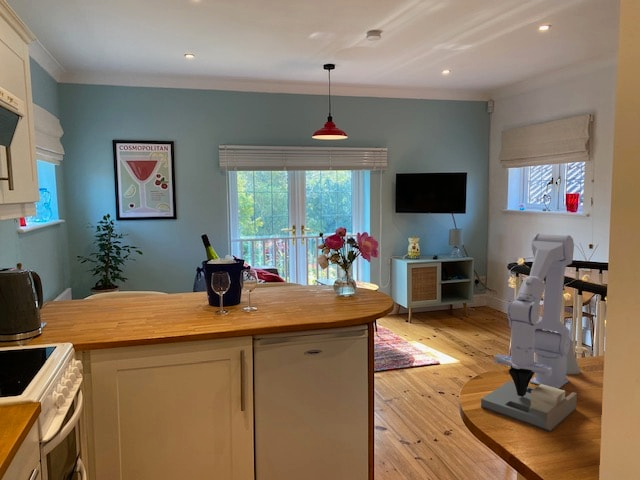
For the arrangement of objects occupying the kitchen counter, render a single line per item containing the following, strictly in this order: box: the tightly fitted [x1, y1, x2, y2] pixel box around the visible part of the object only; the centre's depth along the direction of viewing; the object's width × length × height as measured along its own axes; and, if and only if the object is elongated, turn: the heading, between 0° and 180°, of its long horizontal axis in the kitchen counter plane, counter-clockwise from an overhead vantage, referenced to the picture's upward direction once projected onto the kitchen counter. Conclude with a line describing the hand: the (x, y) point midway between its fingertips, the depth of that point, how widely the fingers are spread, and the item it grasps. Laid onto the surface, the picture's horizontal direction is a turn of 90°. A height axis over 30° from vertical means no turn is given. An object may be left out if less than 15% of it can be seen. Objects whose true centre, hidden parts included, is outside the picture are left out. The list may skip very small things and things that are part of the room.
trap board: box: [480, 380, 578, 433], centre depth 126 cm, size 16×18×4 cm
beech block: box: [531, 384, 566, 412], centre depth 122 cm, size 6×6×4 cm
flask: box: [565, 338, 581, 375], centre depth 149 cm, size 7×7×10 cm
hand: (521, 394), depth 127 cm, fingers closed
